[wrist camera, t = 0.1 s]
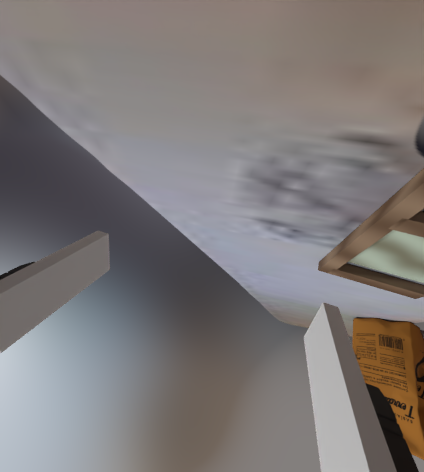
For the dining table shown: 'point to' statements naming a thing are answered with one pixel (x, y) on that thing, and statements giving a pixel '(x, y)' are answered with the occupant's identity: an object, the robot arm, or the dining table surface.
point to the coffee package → (395, 371)
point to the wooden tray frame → (386, 245)
